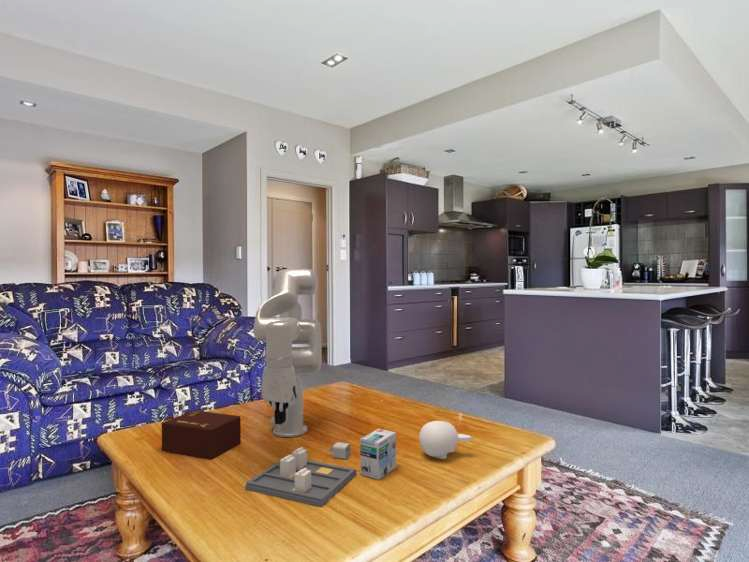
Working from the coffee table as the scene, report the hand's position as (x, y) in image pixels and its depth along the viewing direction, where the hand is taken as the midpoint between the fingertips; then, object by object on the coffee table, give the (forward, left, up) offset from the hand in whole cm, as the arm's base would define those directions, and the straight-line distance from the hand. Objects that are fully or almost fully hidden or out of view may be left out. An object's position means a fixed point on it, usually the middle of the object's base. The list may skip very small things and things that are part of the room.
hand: (280, 422), depth 135 cm
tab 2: (+5, +2, -13) cm, 14 cm away
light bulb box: (+27, +11, -15) cm, 33 cm away
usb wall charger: (+11, +16, -15) cm, 24 cm away
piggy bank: (+42, +30, -15) cm, 54 cm away
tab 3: (+14, -10, -13) cm, 22 cm away
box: (-36, +5, -15) cm, 39 cm away
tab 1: (+5, -4, -13) cm, 14 cm away
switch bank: (+10, -4, -14) cm, 18 cm away
